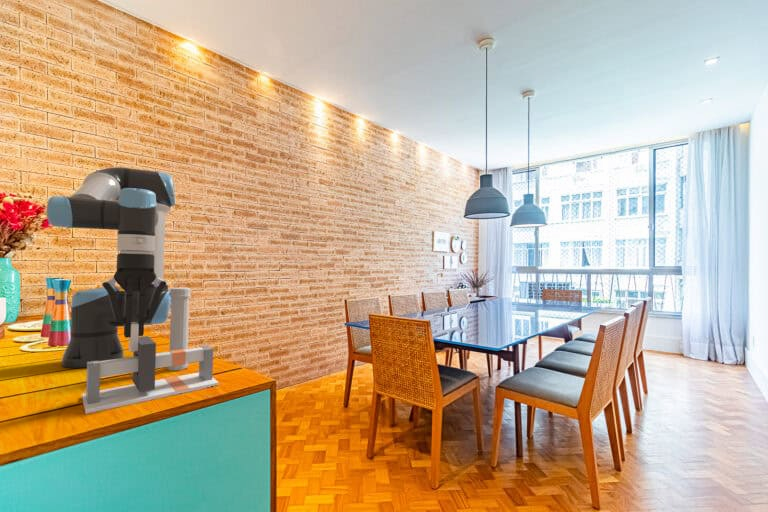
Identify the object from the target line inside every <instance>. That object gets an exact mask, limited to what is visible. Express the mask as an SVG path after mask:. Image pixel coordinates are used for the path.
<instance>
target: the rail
mask: <svg viewBox="0 0 768 512" xmlns="http://www.w3.org/2000/svg"><path fill="white" fill-rule="evenodd" d="M138 361H139V356H134V357H133V356H127V357H123V358H120V359H113V360H106V361H91V362H87V367H86V383H85V384H86V388H85V393H84V392H83V393H81V399H82V402H83V409H84V413H85V415H87V414H92V413H96V412H100V411H105V410H110V409H115V408H119V407H124V406H128V405H133V404H138V403H142V402H147V401H151V400H157V399H162V398H165V397H166V398H167V397H172V396H175V395H180V393H181V394H185V393H189V392H190V393H191V392H194V391H199V390H202V389H204V390H205V389H208V388H207V387H209V388H212V387H211V386H213V387H216V386H215V385H218V386H220V384H219V383H220V382H219V381H218V380H216V379H215V378H214V376H213V374H214V373H213V370H214V368H213V367H214V348H213V347H211V346H209V345H201V346H199V347H193V348H188V349H184V350H183V349H179V350H172V351H170V350H169V351H163V352H156V361H155V369H160V368H161V369H162V368H165V367H168V366H178V365H184V364H186V363H188V364H190V363H197V362H199V363H198V372H195V373H188V374H182V375H176V376H170V377H164V378H161V379H155V389H154V390H149V391H143V392H139V390H138V389H137V387H136V386H135V384H134V383H132V384H129V385H123V386H117V387H112V388H108V389H107V388H105V389H102V390H101V389H100V388H101V387H100V386H101V381H100V380H101V378H106V377H110V376H111V377H112V376H116V375H117V376H118V375H124V374H130V373H131V374H132V373H133V372H137V371H138Z"/></svg>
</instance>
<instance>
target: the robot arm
mask: <svg viewBox="0 0 768 512" xmlns="http://www.w3.org/2000/svg"><path fill="white" fill-rule="evenodd" d="M174 188H175V187H174V180H173V177H172V175H170V174H169V173H167V172H162V171H161V172H160V171H157V170H155V171H154V170H153V171H152V170H144V169H138V168H137V169H136V168H129V167H123V166H122V167H119V166H118V167H116V166H115V167H108V168H102V169H99V170H96V171H94V172H92V173H89V174H88V175H86V176H85V178H84V180H83V182H82V186H80V187H79V189H78V190H76V191H75V192H74V193H73V194H72V195H70V196H66V195H62V196H56V195H55V196H51V197H49V199H48V200H47V203H46V217H47V221H48V223H49V225H51V226H53V227H57V228H66V229H88V230H91V229H93V230H111V231H112V230H113V231H117V241H116V242H117V244H116V245H117V246H116V250H117V252H119V253H118V254H117V255H116V271H115V273H114V275H113V277H112V278H111V279H109V280H107V281H103V282H102V283H101V286H102V287H95V288H89V289H83V290H79V291H77V292H75V293H74V294H73V295H72V297H71V306H70V309H71V310H70V311H71V312H70V315H71V316H70V339H69V342H68V344H67V347H66V349H65V351H64V352H63V355H62V359H61V365H62V367H65V368H71V369H74V368H75V369H79V368H87V362H91V361H106V360H113V359H120V358H124V349H123V345H122V343H121V341H120V337H119V336H118V330H119V327H123V336H124V338H125V339H127V338H128V351H129V352H130V353H132V352H133V351H138V337H144V335H145V334H144V332H145V331H144V330H145V327H144V326H147V325H148V326H153V325H161V324H164V323H166V322H167V321H168V319H169V314H170V311H171V297H170V289H171V288H169V284H168V283H167V282H166V281H165V280H164V269H165V267H164V264H165V235H166V234H165V233H166V215H167V214H169V212H171V207H173V206H175V205H176V198H175V196H176V195H175V189H174ZM116 284H118V285H119V286H117V285H116ZM119 287H121V289H122V290H120V288H119Z"/></svg>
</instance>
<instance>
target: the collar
mask: <svg viewBox="0 0 768 512" xmlns="http://www.w3.org/2000/svg"><path fill="white" fill-rule="evenodd" d="M156 353H157V342H156V341H154V340H153V339H152V338H151V337H149V335H146V336H144V335H143V336H138V351H133V353H132V354H133V355H132V357H134V356H139V361H138V371H137V372H132V382H133V383H132V384H135V386H136V387H137V389H138V390H139V392H143V391H149V390H154V389H155V380H156V368H155V361H156Z"/></svg>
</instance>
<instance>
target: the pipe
mask: <svg viewBox="0 0 768 512" xmlns="http://www.w3.org/2000/svg"><path fill="white" fill-rule="evenodd" d="M170 271H173V273H175V275H176V277H177V278H178V281H179V287H171V288H169V289H170V297H171V305H170V323H169V324H170V327H169V328H170V329H169V330H170V331H169V351H172V350H179V349H183V350H184V349H189V316H190V315H189V310H190V309H189V308H190V297H191V288H190V287H182V284H181V280H180V277H179V275H178V274H177V272H176V271H175V270H174V269H172V268H170ZM167 367H168V368H167V369H168V370H169V371H175V372H176V371H181V370H182V371H183V370H185V369H187V368H188V367H189V363H186V364H184V365H178V366H167Z"/></svg>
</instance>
